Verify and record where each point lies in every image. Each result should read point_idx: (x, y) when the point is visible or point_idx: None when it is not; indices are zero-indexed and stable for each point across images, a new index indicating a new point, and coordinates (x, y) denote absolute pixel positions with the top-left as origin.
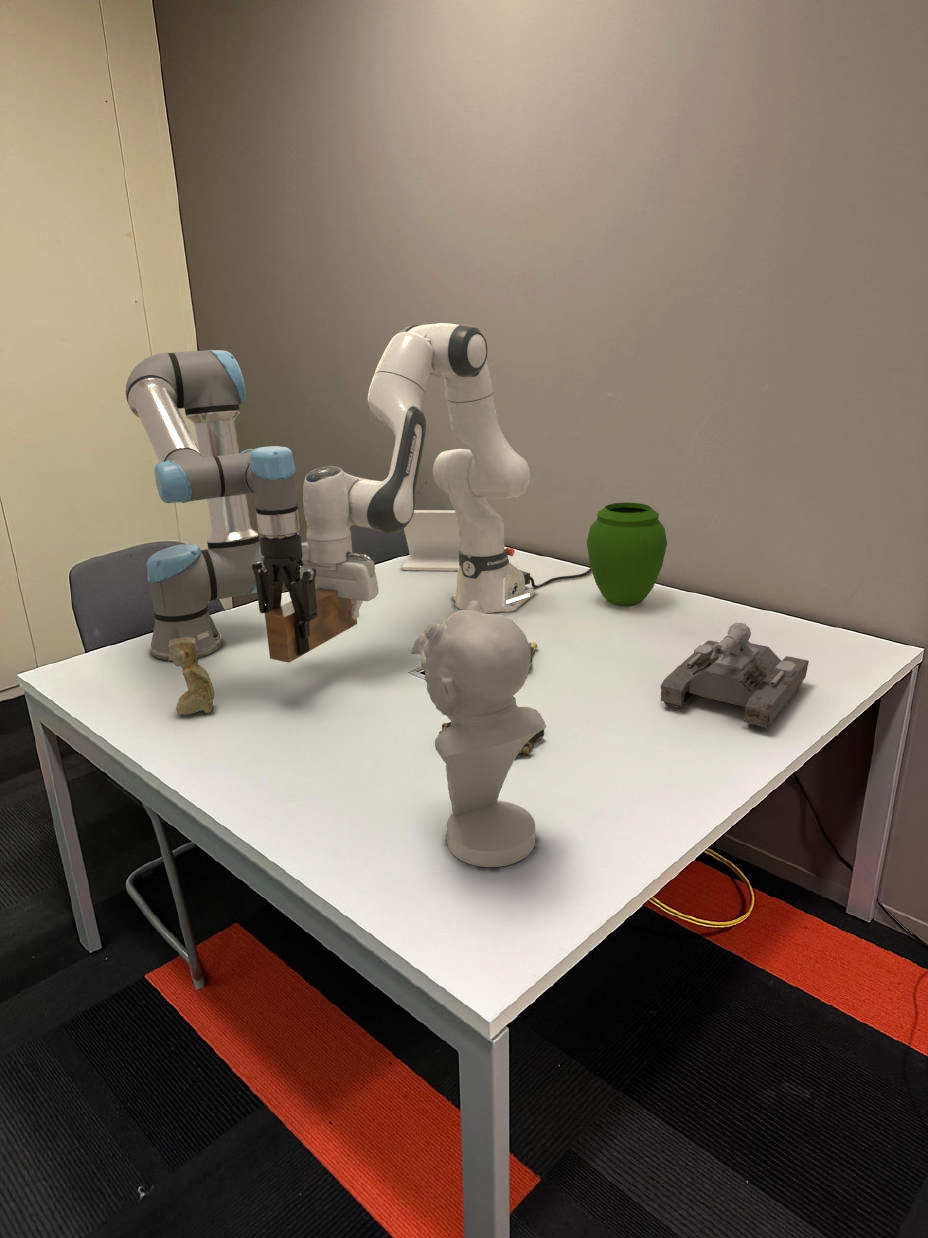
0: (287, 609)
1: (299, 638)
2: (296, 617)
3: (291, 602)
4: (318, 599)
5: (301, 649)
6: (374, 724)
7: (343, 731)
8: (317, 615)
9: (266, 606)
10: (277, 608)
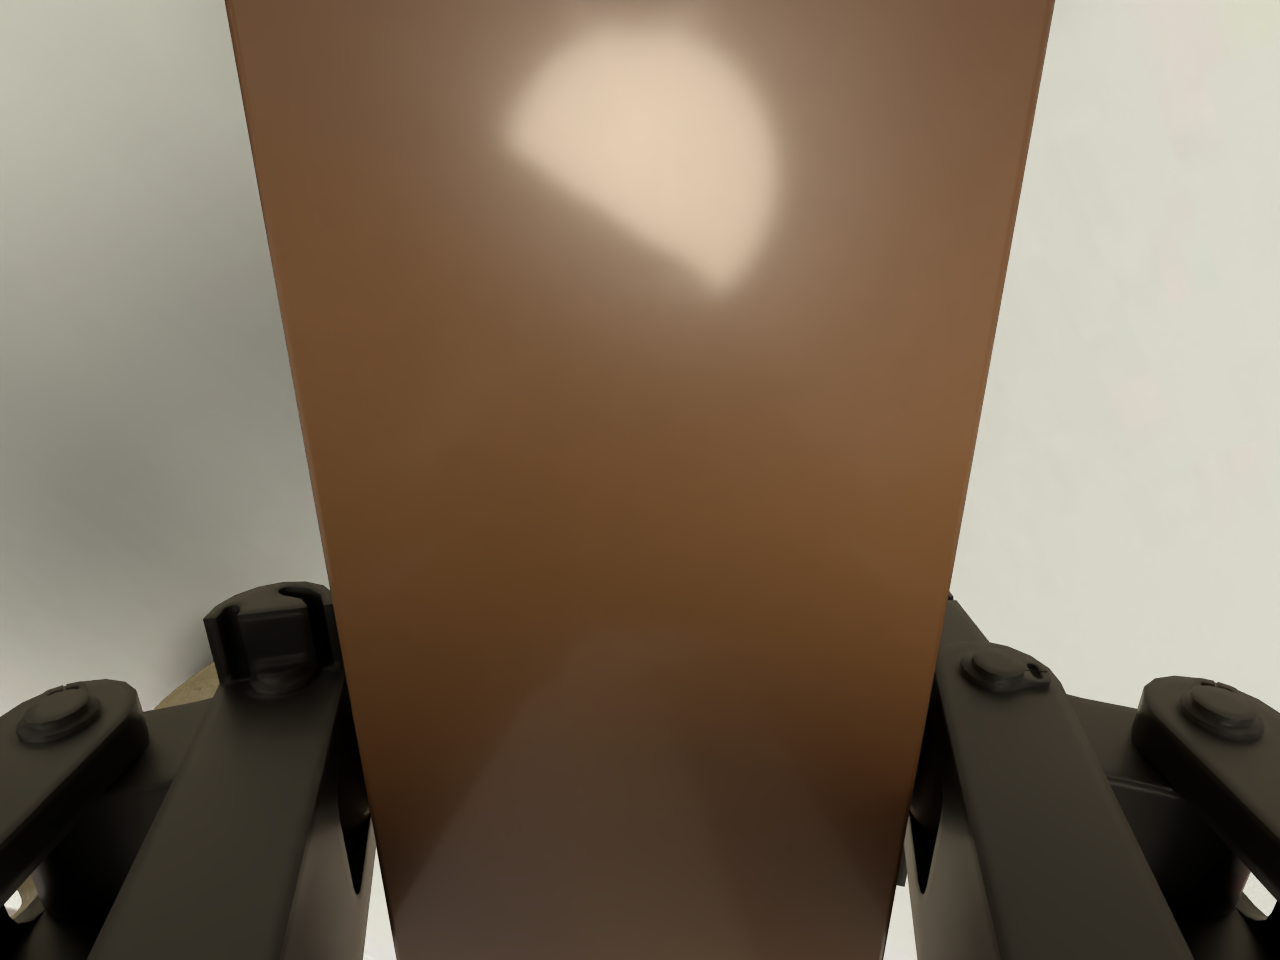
0: (655, 902)
1: None
2: (910, 890)
3: (407, 564)
4: (1006, 2)
5: None
6: (1192, 430)
7: (1059, 550)
8: (1273, 717)
9: (92, 866)
10: (425, 926)
